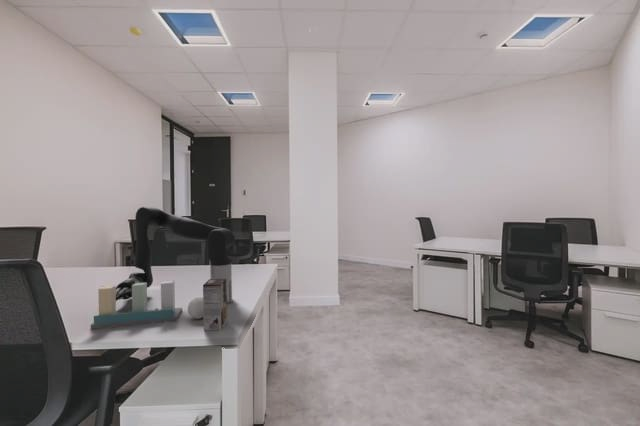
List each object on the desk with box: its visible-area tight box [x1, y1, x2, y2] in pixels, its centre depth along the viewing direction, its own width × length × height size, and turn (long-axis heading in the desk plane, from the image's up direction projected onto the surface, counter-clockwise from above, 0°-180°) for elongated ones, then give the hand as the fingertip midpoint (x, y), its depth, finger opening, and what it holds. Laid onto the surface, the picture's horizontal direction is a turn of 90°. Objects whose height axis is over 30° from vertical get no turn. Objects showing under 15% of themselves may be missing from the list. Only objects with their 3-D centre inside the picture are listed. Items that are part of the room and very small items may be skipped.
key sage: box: [131, 282, 148, 313], centre depth 118 cm, size 4×4×12 cm
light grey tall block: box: [160, 280, 176, 312], centre depth 120 cm, size 4×4×12 cm
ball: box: [187, 296, 204, 320], centre depth 118 cm, size 8×8×8 cm
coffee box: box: [202, 278, 228, 332], centre depth 110 cm, size 9×6×16 cm
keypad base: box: [90, 307, 183, 330], centre depth 118 cm, size 28×12×4 cm, turn 104°
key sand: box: [98, 285, 117, 315], centre depth 113 cm, size 4×4×12 cm
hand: (112, 299), depth 117 cm, fingers closed
